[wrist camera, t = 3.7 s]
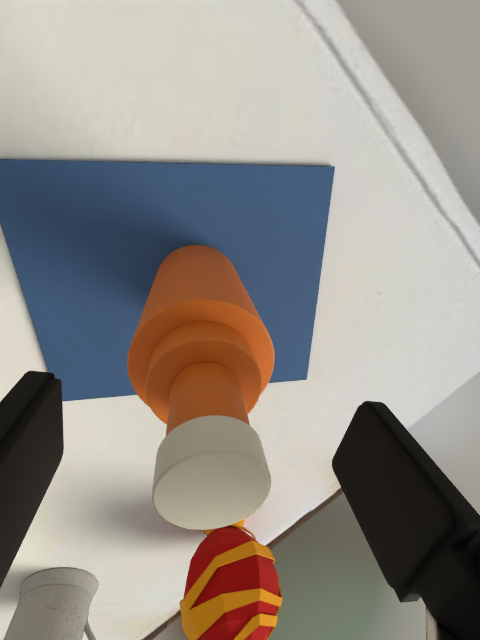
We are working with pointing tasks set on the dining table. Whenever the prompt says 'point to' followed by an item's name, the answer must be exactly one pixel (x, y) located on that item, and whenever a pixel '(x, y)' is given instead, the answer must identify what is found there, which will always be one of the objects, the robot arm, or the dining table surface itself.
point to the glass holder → (54, 606)
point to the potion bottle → (231, 588)
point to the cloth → (157, 252)
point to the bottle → (203, 389)
